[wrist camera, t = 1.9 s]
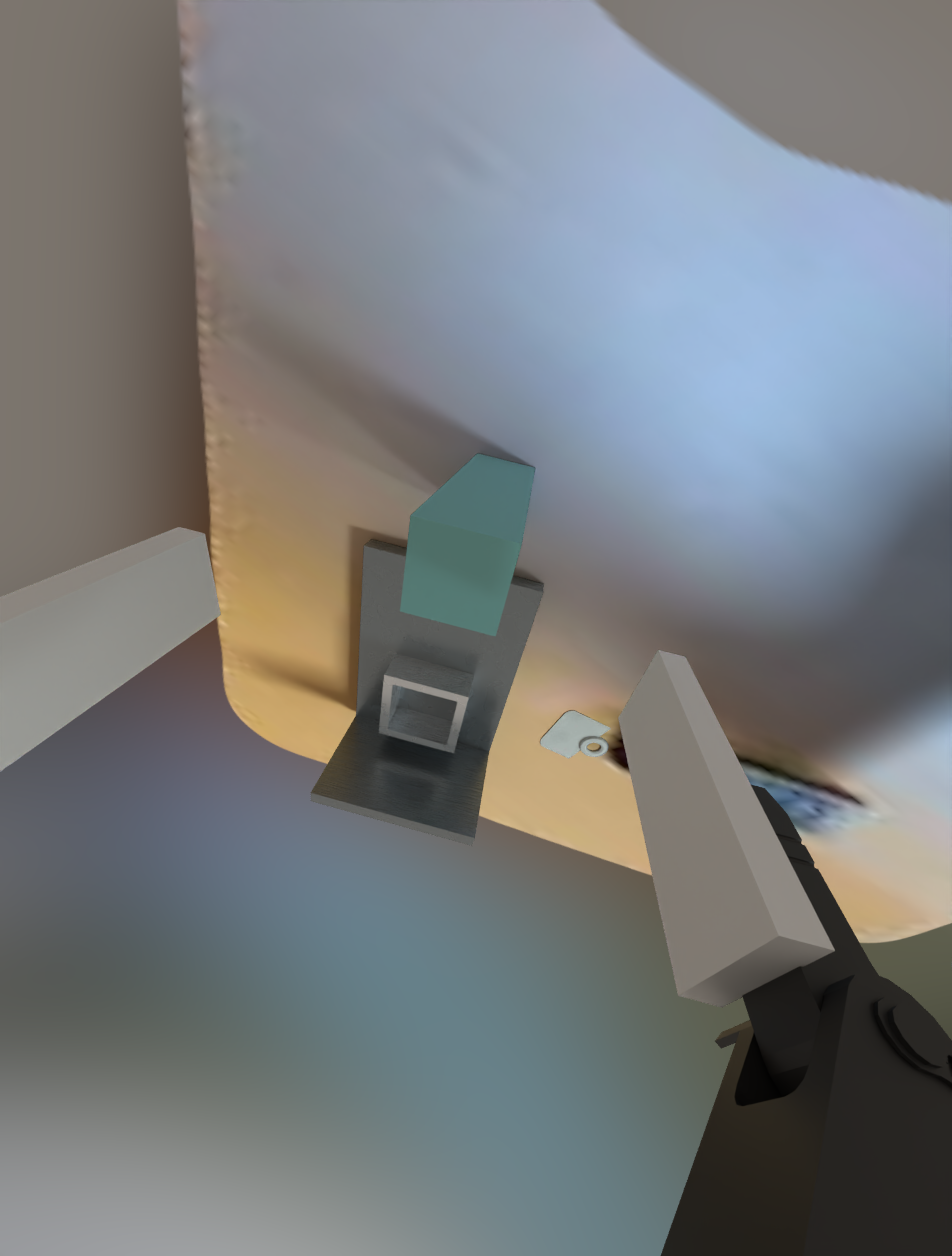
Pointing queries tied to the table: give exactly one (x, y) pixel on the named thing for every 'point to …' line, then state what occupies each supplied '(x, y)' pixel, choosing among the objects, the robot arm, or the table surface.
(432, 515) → the teal block
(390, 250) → the table surface
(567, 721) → the mounting bracket
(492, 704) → the cup bracket
